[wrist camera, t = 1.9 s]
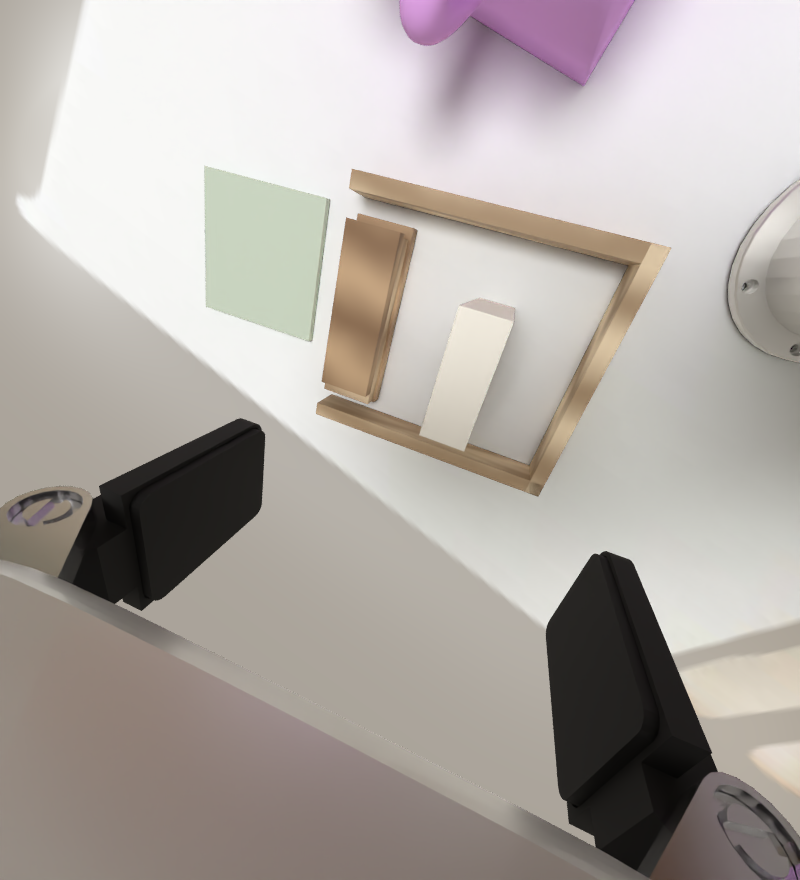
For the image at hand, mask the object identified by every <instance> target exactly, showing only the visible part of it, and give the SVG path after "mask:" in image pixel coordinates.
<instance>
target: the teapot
mask: <svg viewBox="0 0 800 880" xmlns="http://www.w3.org/2000/svg"><path fill="white" fill-rule="evenodd" d="M634 1H635V0H400V17H401V21H402V25H403V27H404V30H405V32H406V33H407V35H408V37H409V38H410V39H411V40H412V41H413V42H415V43H418V44H421V45H424V46H427V45H434V44H437V43H439V42H441V41H443V40H445V39H447V38H448V37H449V36H450V35H452V34H453V33H454V32H455V31H456V30H457V29H458V28H459V27H460V26H461V25H462V24H463V23H464V22H465V21H466V20H467V19H468V17H469V16H471V17H472V18H474V19H476V20H477V21H479V22H480V23H482V24H484V25H485V26H487V27H488V28H490V29H492V30H493V31H495V32H497V33H498V34H500V35H501V36H503V37H505V38H506V39H508V40H510V41H511V42H513V43H514V44H516V45H518V46H519V47H521V48H522V49H524V50H526V51H527V52H529V53H531V54H532V55H534V56H535V57H537V58H539V59H540V60H542V61H543V62H545V63H547V64H548V65H550V66H552V67H553V68H555V69H556V70H558V71H560V72H561V73H563V74H565V75H566V76H568V77H569V78H571V79H573V80H574V81H576V82H577V83H579V84H581V85H582V86H584V85H585V83H586V82H587V80H588V78H589V77H590V75H591V73H592V72H593V70H594V68H595V67H596V65H597V63H598V61H599V60H600V58H601V56H602V55H603V53H604V51H605V50H606V48H607V46H608V45H609V43H610V41H611V40H612V38H613V36H614V35H615V33H616V31H617V29H618V28H619V26H620V24H621V23H622V21H623V19H624V18H625V16H626V14H627V13H628V11H629V9H630V8H631V6H632V4H633V3H634Z"/></svg>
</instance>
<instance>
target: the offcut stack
mask: <svg viewBox="0 0 800 880" xmlns="http://www.w3.org/2000/svg"><path fill="white" fill-rule="evenodd" d="M416 234H417V230H416V229H414V228H410V227H407V226H403V225H399V224H396V223H392V222H388V221H384V220H381V219H377V218H373V217H369V216H366V215H362V214H358V216H357V220H353V219H349V218H346V222H345V229H344V236H343V242H342V249H341V256H340V263H339V269H338V276H337V283H336V289H335V296H334V303H333V309H332V316H331V323H330V330H329V336H328V343H327V350H326V356H325V363H324V370H323V377H322V382H324V383H325V387H324V389H327V390H330V391H333V392H335V393H338V394H341V395H344V396H346V397H349V398H352V399H355V400H358V401H360V402H363V403H366V404H369V403H370V402H371V401H372V402H375V401H376V400H377V399H378V397H379V393H380V389H381V384H382V380H383V376H384V372H385V367H386V363H387V359H388V354H389V350H390V346H391V342H392V337H393V333H394V329H395V324H396V320H397V316H398V312H399V307H400V303H401V299H402V294H403V290H404V286H405V282H406V277H407V273H408V269H409V264H410V260H411V256H412V251H413V247H414V243H415V239H416Z"/></svg>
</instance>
